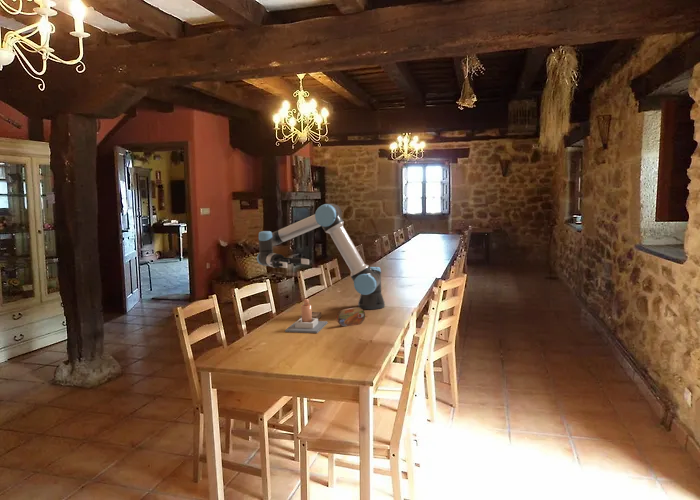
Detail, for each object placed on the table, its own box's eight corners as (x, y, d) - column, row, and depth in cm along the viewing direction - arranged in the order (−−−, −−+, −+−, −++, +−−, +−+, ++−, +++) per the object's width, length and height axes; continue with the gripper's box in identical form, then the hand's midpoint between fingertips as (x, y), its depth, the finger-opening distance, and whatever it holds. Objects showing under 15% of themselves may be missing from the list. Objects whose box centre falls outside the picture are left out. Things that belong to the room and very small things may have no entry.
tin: (338, 327, 248) (338, 310, 247) (336, 326, 251) (335, 309, 250) (365, 323, 255) (365, 306, 254) (362, 321, 258) (362, 305, 257)
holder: (327, 323, 257) (327, 316, 256) (317, 333, 240) (316, 326, 239) (297, 322, 261) (297, 315, 260) (285, 332, 243) (284, 324, 243)
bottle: (313, 324, 252) (313, 298, 250) (309, 327, 247) (309, 300, 245) (304, 323, 253) (303, 298, 252) (300, 326, 248) (299, 300, 247)
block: (321, 316, 271) (321, 312, 270) (316, 321, 262) (316, 316, 262) (305, 316, 273) (304, 311, 272) (299, 320, 264) (299, 315, 264)
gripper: (295, 264, 286) (317, 267, 270) (256, 270, 271) (277, 274, 254) (294, 251, 286) (316, 253, 269) (255, 256, 270) (276, 259, 254)
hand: (298, 263), depth 262 cm, fingers open, 13 cm apart
